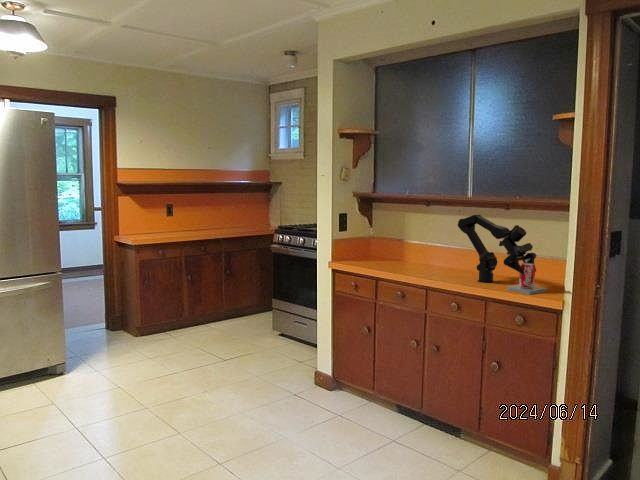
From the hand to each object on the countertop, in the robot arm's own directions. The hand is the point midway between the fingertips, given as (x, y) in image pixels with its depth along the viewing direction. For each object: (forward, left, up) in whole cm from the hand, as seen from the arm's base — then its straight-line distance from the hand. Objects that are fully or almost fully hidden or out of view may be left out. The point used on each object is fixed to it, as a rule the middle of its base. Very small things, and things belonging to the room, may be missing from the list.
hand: (529, 272), depth 258 cm
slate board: (-1, 0, -9) cm, 9 cm away
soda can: (-1, 0, -8) cm, 8 cm away
